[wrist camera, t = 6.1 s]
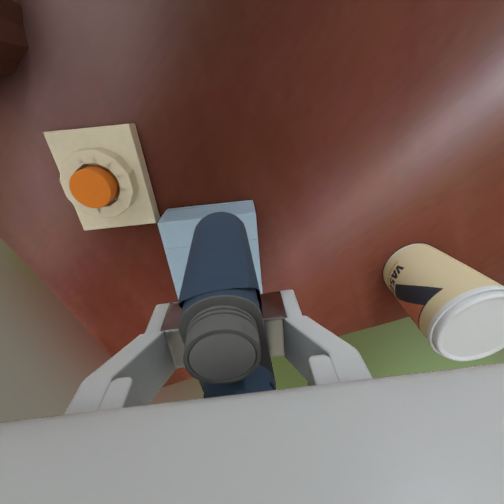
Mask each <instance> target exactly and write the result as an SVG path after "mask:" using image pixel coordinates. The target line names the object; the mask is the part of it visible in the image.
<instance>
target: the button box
mask: <svg viewBox="0 0 504 504" xmlns="http://www.w3.org/2000/svg"><path fill="white" fill-rule="evenodd" d="M43 134H44V136H45V139H46V141H47V143H48V146H49V148H50V150H51V153H52V155H53V158H54V160H55V162H56V165H57V167H58V169H59V172H60V183H61V185H62V187H63V190H64V192H65V194H66V197H67V198H68V199H69V200H70V201H71V202H72V203H73V205H74V207H75V210H76V212H77V214H78V217H79V219H80V221H81V224H82V226H83V228H84V230H94V229H104V228H113V227H123V226H133V225H142V224H152V223H157V221H158V220H159V218H160V215H159V212H158V208H157V204H156V200H155V197H154V193H153V189H152V186H151V182H150V178H149V174H148V171H147V167H146V163H145V159H144V156H143V152H142V148H141V144H140V141H139V137H138V133H137V130H136V126H135V123H130V124H120V125H110V126H99V127H89V128H79V129H69V130H59V131H49V132H43ZM89 166H98V167H101V168H103V169H105V170H107V171H108V172H110V173H111V174H112V175H113V177H114V178H115V180H116V182H117V185H118V192H117V195H116V197H115V198H114V199H113V200H112V201H111V202H109V203H108V204H107V205H105V206H103V207H101V208H90V207H87V206H84V205H83V204H81V203H80V202H78V201H77V200H76V199H75V198H74V196H73V195H72V193H71V191H70V187H69V181H70V178H71V176H72V175H73V174H74V173H75V172H76V171H78V170H81V169H83V168H86V167H89Z"/></svg>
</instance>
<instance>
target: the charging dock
mask: <svg viewBox="0 0 504 504" xmlns="http://www.w3.org/2000/svg"><path fill="white" fill-rule="evenodd" d="M215 212H228V213H231V214H233V215H235V216H237V217H238V218H239V219H240V220H241V221H242V222H243V223H244V226H245V228H246V232H247V236H248V241H249V245H250V250H251V254H252V258H253V263H254V267H255V272H256V276H257V280H258V285H259V289H260V294H262V281H261V269H260V257H259V245H258V233H257V221H256V212H255V207H254V203H253V200H246V201H236V202H227V203H217V204H208V205H198V206H188V207H179V208H169V209H167V210H166V211H165V213H164V214H163V215H162V217H161V218H160V220H159V221H158V223H157V224H158V228H159V231H160V235H161V238H162V242H163V246H164V250H165V253H166V257H167V261H168V264H169V268H170V271H171V275H172V279H173V282H174V286H175V290H176V293H177V297H178V300H179V295H180V291H181V287H182V282H183V278H184V273H185V269H186V265H187V260H188V256H189V251H190V247H191V243H192V238H193V234H194V230H195V227H196V225H197V224H198V223H199V221H200V220H201V219H202V218H204V217H205V216H207V215H209V214H212V213H215Z"/></svg>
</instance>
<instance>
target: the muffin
mask: <svg viewBox="0 0 504 504" xmlns="http://www.w3.org/2000/svg"><path fill="white" fill-rule="evenodd" d="M27 49H28V44H27V40H26V36H25V32H24V29H23V21H22V10H21V6H20V4H19V3H18V2H17V1H16V0H0V75H6V74H14V73H15V70H16V68H17V65H18V62H19V60H20V58H21V57H22V56H23V54H24V53H25V52H26V50H27Z"/></svg>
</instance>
